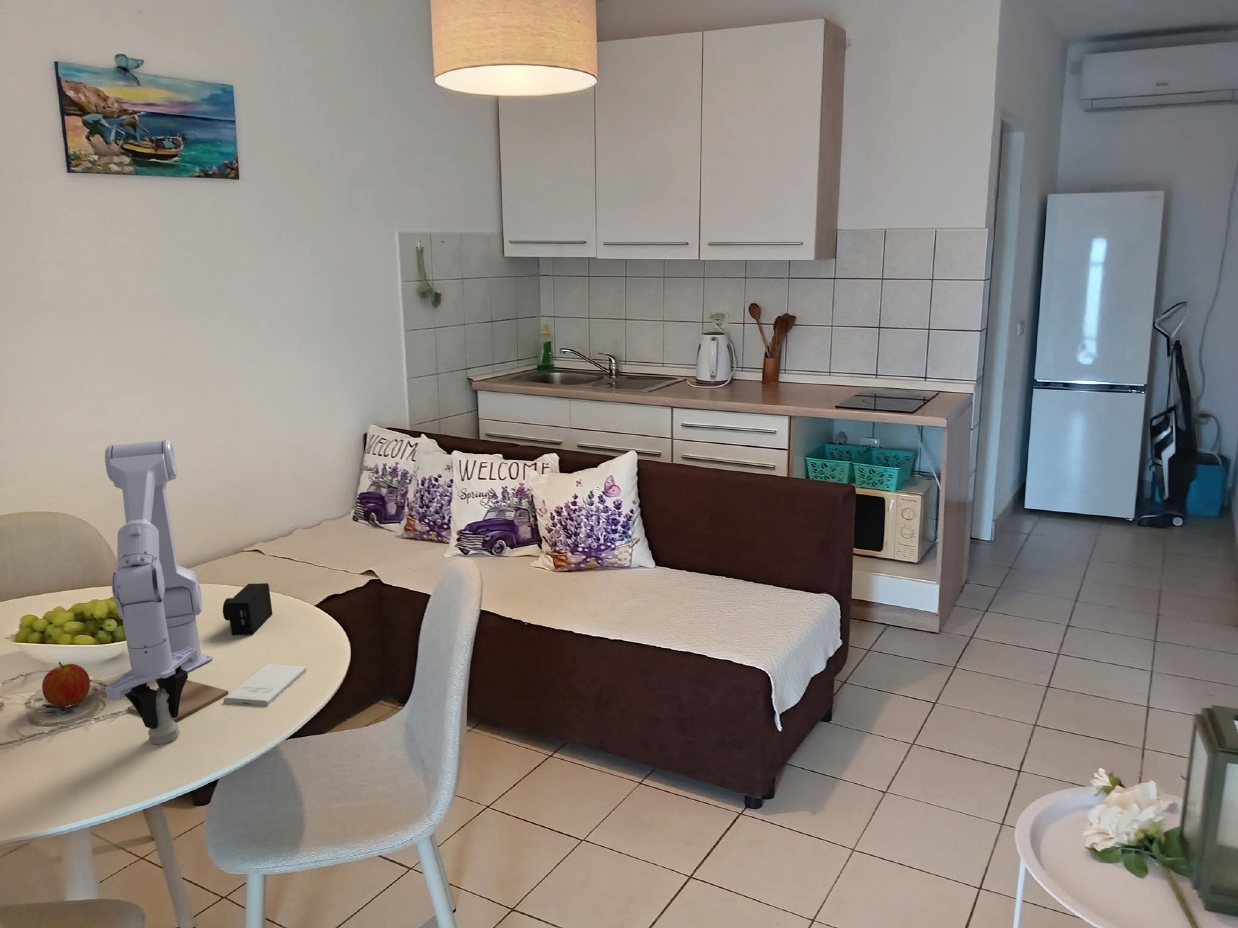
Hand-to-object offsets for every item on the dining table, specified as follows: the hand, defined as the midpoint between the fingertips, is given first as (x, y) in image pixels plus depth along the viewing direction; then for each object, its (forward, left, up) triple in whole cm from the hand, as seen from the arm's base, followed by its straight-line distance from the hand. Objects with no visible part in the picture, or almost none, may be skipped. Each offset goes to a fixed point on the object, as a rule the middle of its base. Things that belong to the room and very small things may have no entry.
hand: (161, 721), depth 146 cm
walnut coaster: (-8, +9, -3) cm, 12 cm away
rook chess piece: (0, 0, -3) cm, 3 cm away
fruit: (-25, +1, -3) cm, 25 cm away
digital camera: (-23, +37, -3) cm, 44 cm away
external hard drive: (+2, +19, -4) cm, 20 cm away
